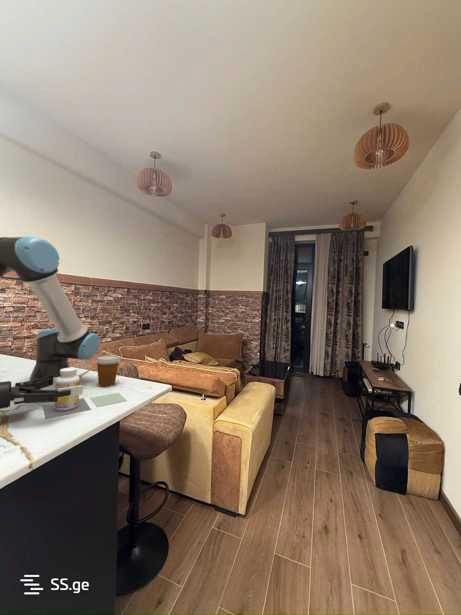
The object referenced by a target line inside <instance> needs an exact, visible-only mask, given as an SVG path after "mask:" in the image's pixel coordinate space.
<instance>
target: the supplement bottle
mask: <svg viewBox="0 0 461 615" xmlns="http://www.w3.org/2000/svg"><path fill="white" fill-rule="evenodd" d="M77 370H78V368H76V367H70V368H64V369H61V370H60V375H61V376H60V377H59V378H58V379H57V380H56V386H55V390H58V389H60V388H67V387H74V386H80V383H81V382H80V380H81V378H80V376H79V375H77ZM79 399H80V395H75V396H69V397H63V398H58V401H57V402H54V403H55V409H56V410H59V411H65V410H70V409H73V408H75V407H77V406H78V403H79Z"/></svg>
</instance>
